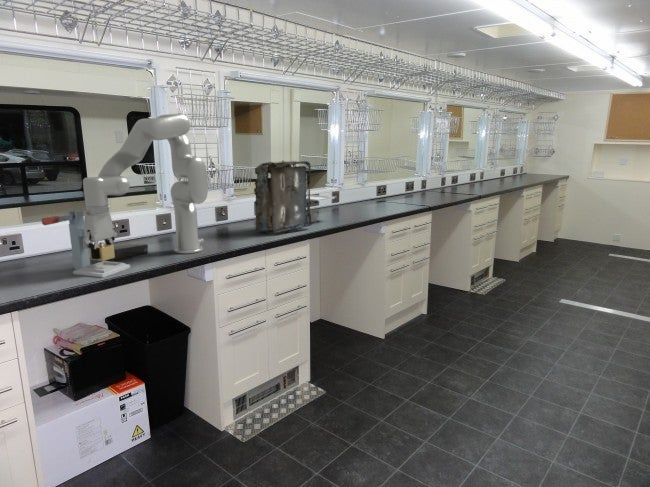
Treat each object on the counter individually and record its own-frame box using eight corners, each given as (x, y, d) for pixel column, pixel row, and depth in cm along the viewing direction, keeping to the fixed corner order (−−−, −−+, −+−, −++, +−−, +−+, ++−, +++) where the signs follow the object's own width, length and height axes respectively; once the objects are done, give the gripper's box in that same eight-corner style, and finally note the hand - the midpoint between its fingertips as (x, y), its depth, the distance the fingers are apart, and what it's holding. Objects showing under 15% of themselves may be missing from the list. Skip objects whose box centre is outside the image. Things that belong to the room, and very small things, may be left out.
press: (92, 263, 185) (85, 207, 180) (130, 267, 179) (124, 210, 174) (63, 272, 172) (55, 213, 167) (102, 277, 166) (95, 215, 161)
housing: (102, 256, 177) (101, 240, 176) (114, 257, 175) (113, 241, 174) (90, 259, 172) (88, 243, 170) (102, 261, 170) (101, 245, 168)
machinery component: (264, 237, 232) (261, 163, 223) (244, 232, 245) (241, 161, 237) (312, 229, 253) (311, 161, 245) (291, 224, 267) (290, 160, 258)
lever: (76, 218, 175) (75, 211, 175) (81, 218, 174) (80, 212, 174) (42, 225, 162) (41, 217, 161) (47, 225, 161) (46, 218, 160)
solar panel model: (335, 220, 280) (335, 196, 276) (318, 225, 266) (317, 199, 263) (300, 216, 296) (300, 193, 293) (283, 220, 283) (282, 196, 279)
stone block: (148, 254, 200) (147, 243, 199) (103, 264, 186) (101, 252, 185) (134, 250, 209) (133, 239, 208) (90, 258, 195) (88, 247, 194)
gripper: (107, 206, 179) (112, 251, 182) (70, 213, 163) (76, 261, 167) (122, 207, 176) (127, 252, 180) (86, 214, 160) (92, 263, 164)
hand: (102, 256), depth 173 cm, fingers closed on housing, 6 cm apart
